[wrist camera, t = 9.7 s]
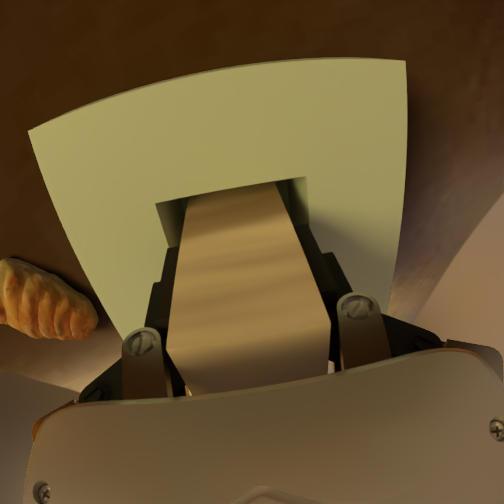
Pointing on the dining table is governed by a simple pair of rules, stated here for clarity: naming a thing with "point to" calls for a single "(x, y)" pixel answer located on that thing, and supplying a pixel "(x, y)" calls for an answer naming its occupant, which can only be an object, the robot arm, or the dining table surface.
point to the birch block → (244, 296)
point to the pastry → (43, 303)
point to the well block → (232, 167)
